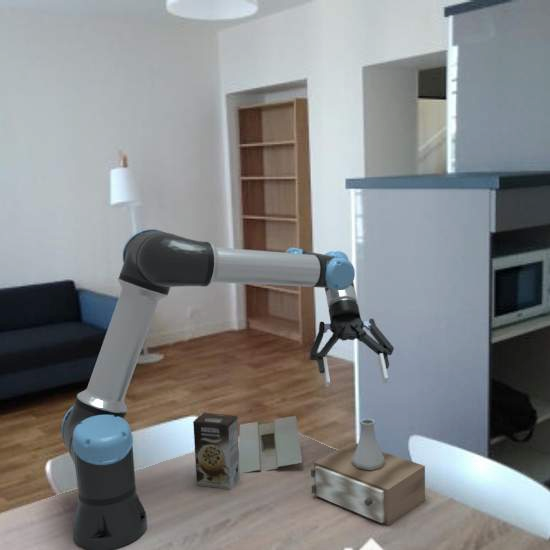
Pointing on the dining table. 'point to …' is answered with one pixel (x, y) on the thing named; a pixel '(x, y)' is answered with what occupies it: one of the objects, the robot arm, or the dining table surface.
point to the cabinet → (370, 485)
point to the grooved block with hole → (269, 445)
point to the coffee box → (216, 450)
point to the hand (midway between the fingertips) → (357, 382)
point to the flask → (368, 448)
